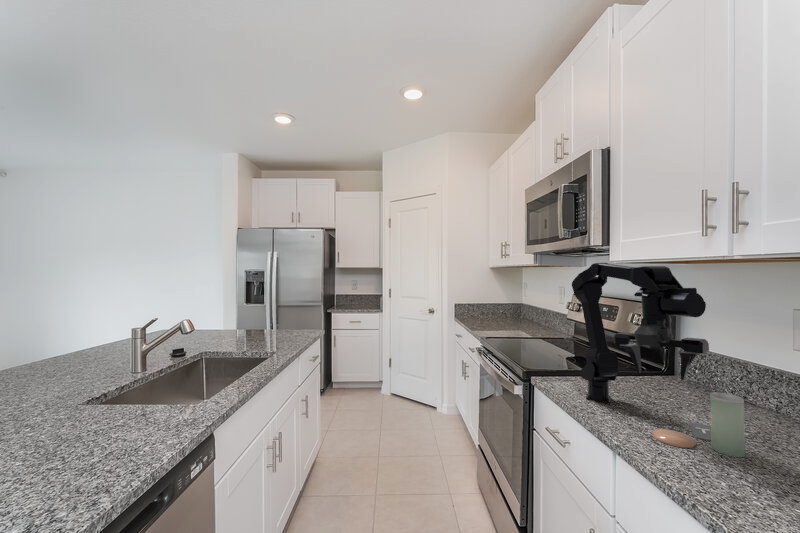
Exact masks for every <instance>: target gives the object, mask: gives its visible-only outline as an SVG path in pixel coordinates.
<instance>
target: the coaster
mask: <svg viewBox="0 0 800 533" xmlns="http://www.w3.org/2000/svg"><path fill="white" fill-rule="evenodd" d="M652 436H653V438H654V439H656V440H657V441H659V442H661V443H663V444H665V445H668V446H672V447H676V448H682V449H690V448H691V449H692V448H695V447H696V446H697V445H696V444H697V442H696V440H695V439H694V437H691V436H690V435H687V434H685V433H683V432H680V431H676V430H672V429H666V428H665V429H664V428H657V429H653V431H652Z"/></svg>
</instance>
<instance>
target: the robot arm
mask: <svg viewBox="0 0 800 533" xmlns="http://www.w3.org/2000/svg"><path fill="white" fill-rule="evenodd" d="M608 278H612V279H619V280H623V281H628V282H630V283H631V284H632V285H635V286H636V287H639V290H637V291H636V292H635V293H634V294H633V295H634V297H640V298H641V308H642V309H641V310H642V314H641V315H642V317H641V318H640V326H638V327H637V329H636V330H635V331H634V332H627V331H625V332H624V331H623V332H617V333H615V334H614V335H613V345H619V348H620V349H624V350H625V351H626V352H627V353H628V356H629V357H630V359H631V361H632V363H633V365H634V368H635V369H636V373H638V374H640V373H641V372H642V358H641V346H647V347H648V346H649V347H651V348H658V347H660V346H661V347H670V348H680V349H681V350H683V351H680V352H679V356H680V380H681V381H684V380H685V379H686V377H687V375H688V372H689V369H690V366H691V365H692V363H693V361H694V359H695V358H696V357H697V356H700V355H702V354H705V353H707V352H709V351H710V345H709V344H710V343H709V342H708V340H706V339H705V338H698V337H696V338H695V337H685V338H681V340H680V339H674V336H673V333H672V322H673V319H672V318H671V316H673V317H675V316H676V317H685V318H687V317H688V318H700V317H701V316H703V315H704V313H705V311H706V307H707V306H706V305H707V304H706V301H705V300H704V298H703V296H702V295H701V294H700V293H698V291H697V288H696V287H683V285H682V284H681V283H680V282H679V281H678V280H677V278H676V277H675V276H674V274H673V273H672V271H671V269H670V267H668V266H666V265H665V266H664V265H658V266H657V265H647V266H646V265H642V266H629V265H620V264H613V263H608V262H594V263H592V264H591V265H590V266H589V267H588V268H587V269H585V270H583V271H581V272H580V273H578V274H577V276H576V277H574V279H573V280H572V283H571V287H572V291H573V294H574V297H575V299H577V300H578V301H579V302H580V304H581V308H582V313H583V319H584V324H585V329H586V335H587V339H588V345H589V348H588V349H589V350H588V351H587V354H586V356H585V361H586V364H585V365H584V366H583V367H582V368H581V369H580V370H579V373H580V378H581V379H584V380H585V381H587V393H586V397H585V400H587V401H593V402H599V403H603V404H611V399H612V398H611V395H610V391H609V390H610V388H609V387H610V385H609V384H610V383H609V382H610V381H613V382H614V381H615V382H616V380H617V377H618V373H619V371H620V368H619V367H621V364H620V363H619V359H618V357H619V356H618V354H617V352H612V350H611V349H610V348H609V347H608V342H607V338H606V332H605V327H604V321H603V318H602V312H601V307H600V306H601V305H600V299H601V297H602V295H603V287H604V286H605V285H606V284H607V283H608Z"/></svg>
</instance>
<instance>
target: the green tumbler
mask: <svg viewBox="0 0 800 533" xmlns="http://www.w3.org/2000/svg"><path fill="white" fill-rule="evenodd" d="M709 398H710V403H709V405H710V426H711V441H710V443H711V449H713V450H714V451H715V452H718V453H720V454H722V455H726V456H729V457H734V458H745V457H746V440H745V439H746V435H745V431H746V430H745V399H744V398H743V397H741V396H739V395H735V394H731V393H726V392H717V391H716V392H710V393H709Z"/></svg>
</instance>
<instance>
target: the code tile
mask: <svg viewBox="0 0 800 533" xmlns="http://www.w3.org/2000/svg"><path fill="white" fill-rule="evenodd" d="M688 425H689V427H690V429H691V431H692V433H693V435H694V438H695V439H697V440H702V441H703V440H704V441H707V442H711V424H710V425H709V424H703V423H698V422H694V421H693V422H692V421H688Z"/></svg>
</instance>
